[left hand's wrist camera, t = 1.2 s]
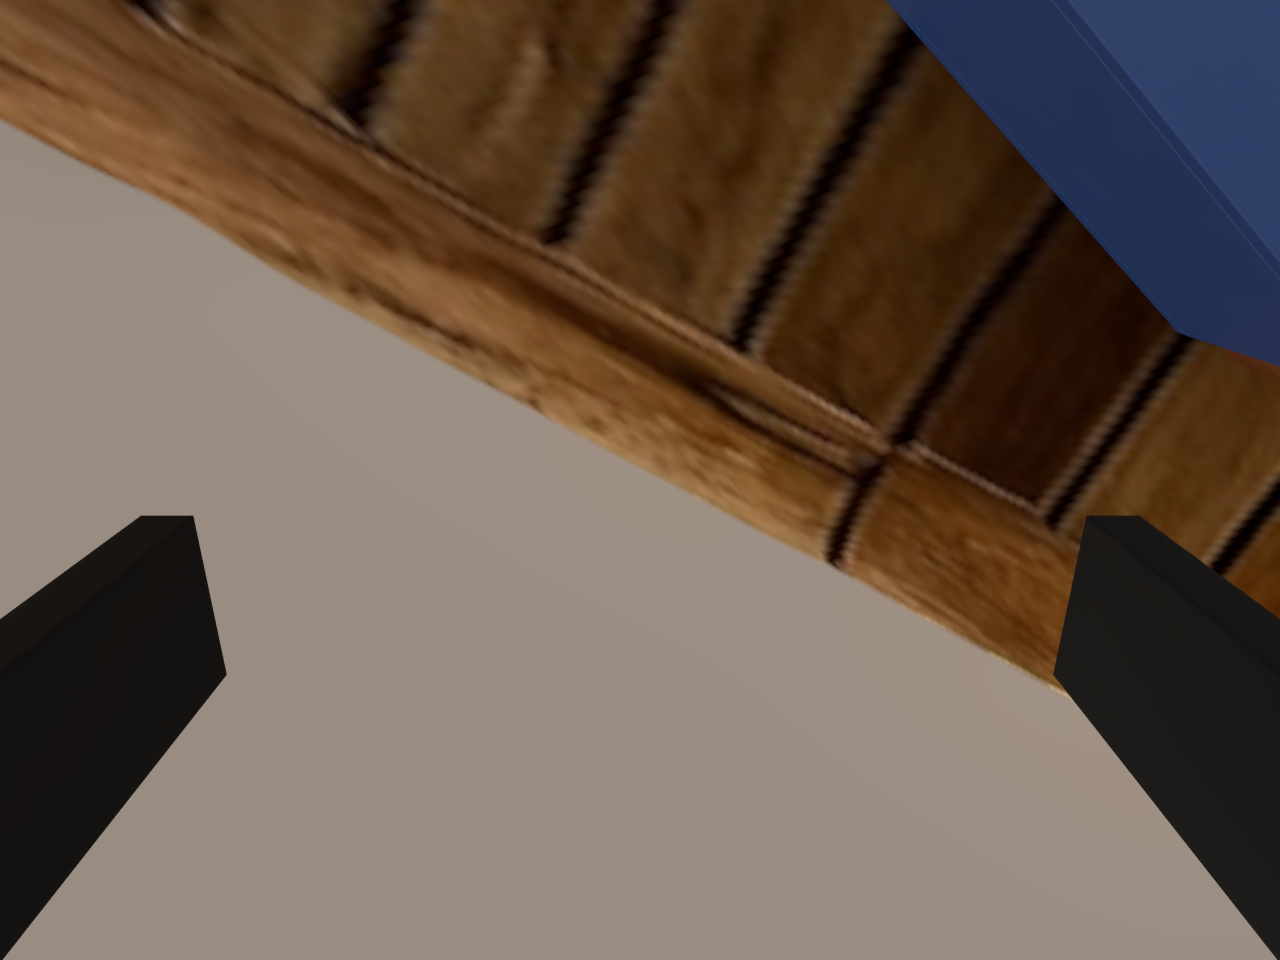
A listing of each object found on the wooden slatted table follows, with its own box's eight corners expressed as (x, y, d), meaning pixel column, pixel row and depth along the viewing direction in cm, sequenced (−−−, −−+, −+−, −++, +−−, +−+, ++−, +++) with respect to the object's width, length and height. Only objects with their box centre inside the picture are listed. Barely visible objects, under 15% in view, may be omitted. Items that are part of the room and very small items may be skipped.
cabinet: (1289, 234, 34) (1569, 269, 24) (1177, 333, 36) (1396, 405, 25) (985, -148, 30) (1170, -309, 19) (870, -17, 31) (985, -102, 21)
